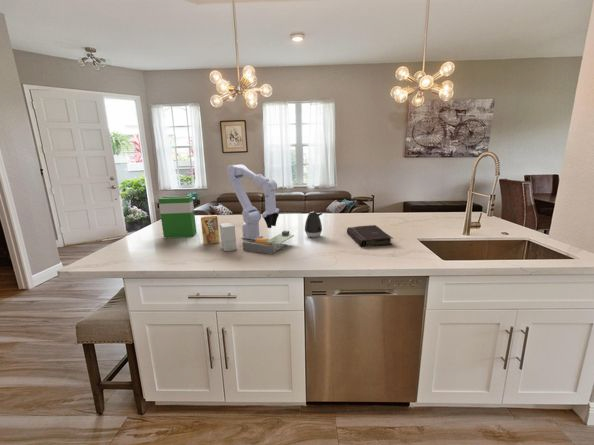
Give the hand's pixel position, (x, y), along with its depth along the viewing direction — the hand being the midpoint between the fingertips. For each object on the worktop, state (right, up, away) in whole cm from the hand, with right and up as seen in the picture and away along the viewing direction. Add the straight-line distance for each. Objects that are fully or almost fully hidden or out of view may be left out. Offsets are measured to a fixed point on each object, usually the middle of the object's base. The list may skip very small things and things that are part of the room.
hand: (271, 226), depth 163 cm
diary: (+55, -8, +2) cm, 56 cm away
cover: (+5, -6, -9) cm, 12 cm away
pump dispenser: (+24, -6, +9) cm, 27 cm away
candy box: (-34, -9, +3) cm, 36 cm away
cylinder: (-3, -8, -5) cm, 10 cm away
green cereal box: (-58, -6, +18) cm, 61 cm away
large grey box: (-3, -11, -8) cm, 14 cm away
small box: (-22, -12, -8) cm, 26 cm away
